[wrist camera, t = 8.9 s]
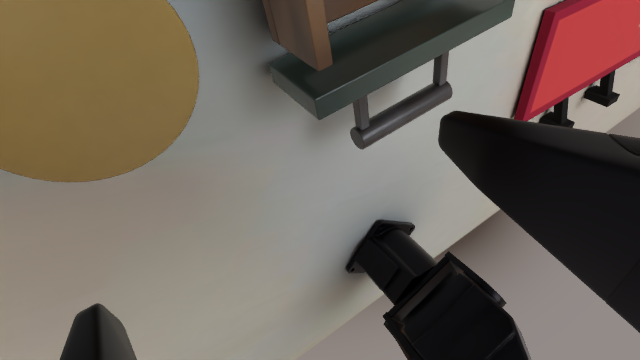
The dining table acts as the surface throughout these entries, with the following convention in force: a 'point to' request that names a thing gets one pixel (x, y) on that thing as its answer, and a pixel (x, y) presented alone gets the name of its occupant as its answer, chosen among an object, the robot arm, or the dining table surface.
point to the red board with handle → (579, 56)
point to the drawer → (372, 54)
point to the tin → (91, 86)
